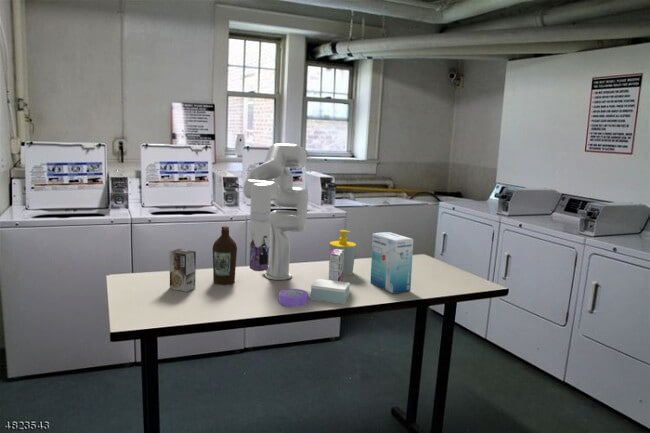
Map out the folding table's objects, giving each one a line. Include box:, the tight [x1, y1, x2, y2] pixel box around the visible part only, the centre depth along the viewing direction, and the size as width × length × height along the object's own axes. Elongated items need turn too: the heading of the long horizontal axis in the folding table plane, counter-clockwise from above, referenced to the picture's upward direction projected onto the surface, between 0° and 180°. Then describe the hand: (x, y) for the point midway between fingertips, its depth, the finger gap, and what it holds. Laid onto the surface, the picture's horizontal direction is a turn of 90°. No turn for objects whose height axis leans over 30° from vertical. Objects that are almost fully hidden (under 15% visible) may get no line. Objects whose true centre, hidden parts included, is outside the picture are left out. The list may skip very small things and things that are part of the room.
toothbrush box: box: [370, 231, 414, 294], centre depth 231 cm, size 18×10×24 cm, turn 30°
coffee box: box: [168, 248, 197, 293], centre depth 214 cm, size 9×6×16 cm
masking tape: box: [278, 288, 309, 307], centre depth 206 cm, size 12×12×4 cm
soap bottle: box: [329, 229, 357, 277], centre depth 251 cm, size 13×13×21 cm
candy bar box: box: [328, 249, 344, 282], centre depth 227 cm, size 11×5×16 cm, turn 168°
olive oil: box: [212, 225, 238, 286], centre depth 225 cm, size 11×11×25 cm
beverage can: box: [249, 240, 269, 272], centre depth 195 cm, size 7×7×12 cm
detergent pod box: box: [310, 278, 351, 305], centre depth 213 cm, size 14×10×6 cm
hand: (259, 261), depth 196 cm, fingers closed on beverage can, 7 cm apart
